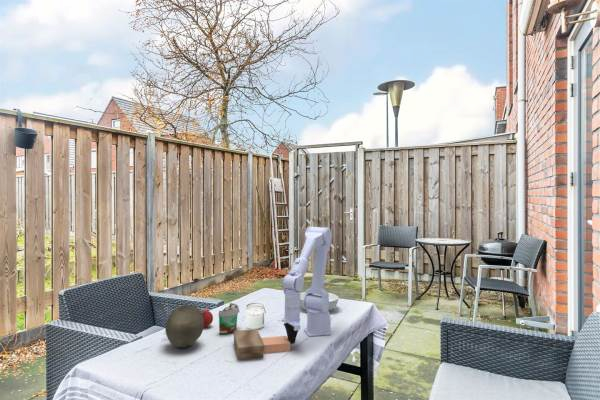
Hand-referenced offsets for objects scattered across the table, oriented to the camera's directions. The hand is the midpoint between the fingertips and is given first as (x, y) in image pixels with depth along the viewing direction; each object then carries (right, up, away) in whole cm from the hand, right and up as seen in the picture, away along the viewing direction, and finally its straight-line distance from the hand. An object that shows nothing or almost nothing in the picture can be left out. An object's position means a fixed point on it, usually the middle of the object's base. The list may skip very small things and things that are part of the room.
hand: (291, 343), depth 136 cm
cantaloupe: (-39, -1, -2) cm, 40 cm away
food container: (-25, -1, +15) cm, 29 cm away
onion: (-37, -1, +19) cm, 41 cm away
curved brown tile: (-16, -1, -4) cm, 16 cm away
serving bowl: (+12, -2, +47) cm, 49 cm away
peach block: (-6, -1, -2) cm, 7 cm away
